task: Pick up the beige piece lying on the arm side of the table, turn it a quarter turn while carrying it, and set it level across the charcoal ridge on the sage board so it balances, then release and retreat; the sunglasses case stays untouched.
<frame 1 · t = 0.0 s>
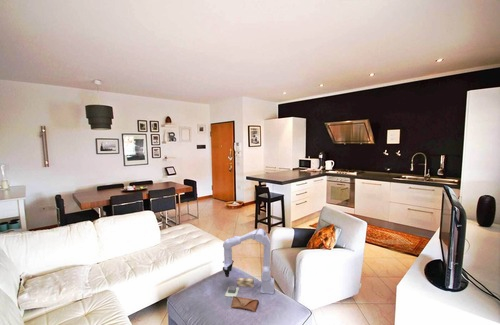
hand: (228, 273, 168), 10 cm above the table, fingers open, 7 cm apart
beige piece: (245, 285, 170), on the table
sunglasses case: (244, 306, 148), on the table
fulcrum: (232, 292, 162), on the table
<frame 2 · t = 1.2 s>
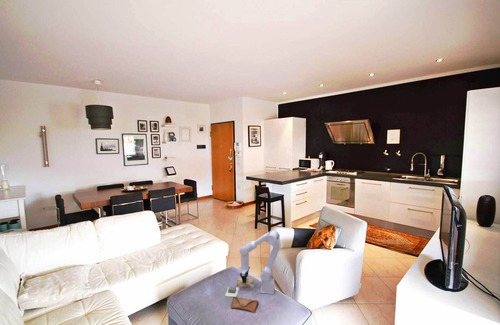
hand: (245, 279, 169), 5 cm above the table, fingers open, 7 cm apart
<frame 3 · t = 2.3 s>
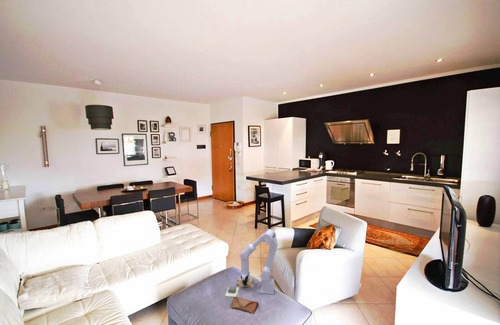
hand: (245, 283, 169), 1 cm above the table, fingers closed on beige piece, 3 cm apart
beige piece: (245, 285, 170), on the table, touching gripper
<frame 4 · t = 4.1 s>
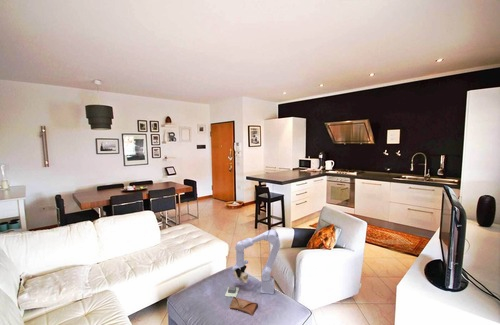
hand: (240, 276, 166), 9 cm above the table, fingers closed on beige piece, 3 cm apart
beige piece: (240, 278, 166), point 7 cm above the table, touching gripper
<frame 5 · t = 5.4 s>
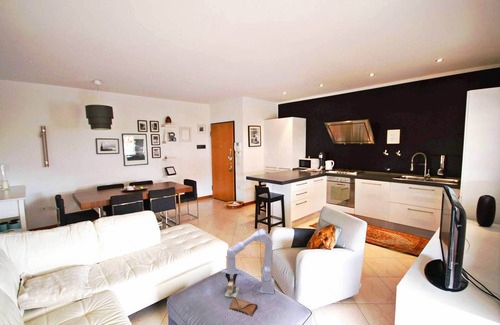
hand: (231, 283, 161), 7 cm above the table, fingers closed on beige piece, 3 cm apart
beige piece: (231, 287, 161), point 4 cm above the table, touching gripper
when the fingers open (5 cm above the table, at t = 6.1 s): beige piece stays where it is, resting on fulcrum.
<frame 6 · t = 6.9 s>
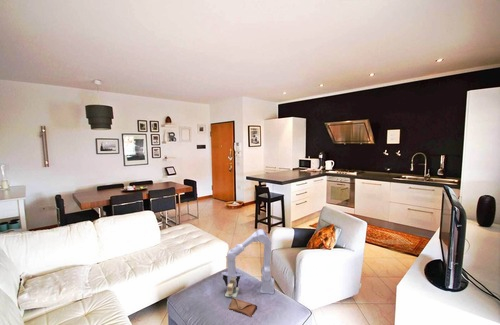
hand: (232, 285, 162), 5 cm above the table, fingers open, 7 cm apart
beige piece: (231, 288, 161), point 3 cm above the table, touching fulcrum
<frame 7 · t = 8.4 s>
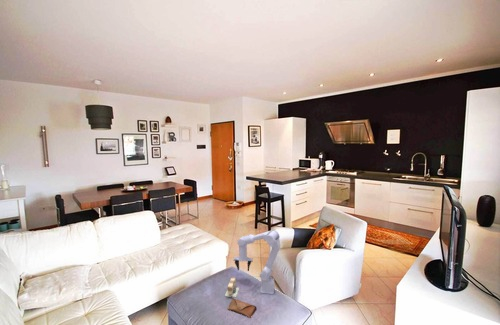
hand: (243, 270, 172), 10 cm above the table, fingers open, 7 cm apart
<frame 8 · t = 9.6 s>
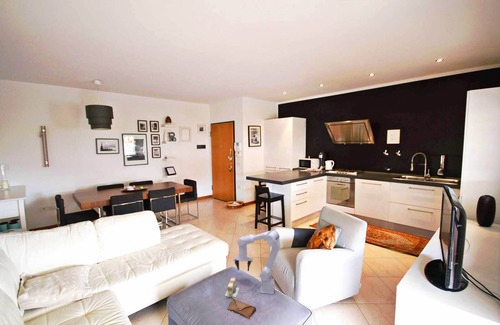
hand: (243, 270, 172), 10 cm above the table, fingers open, 7 cm apart
at the end: beige piece 0.6 cm off-centre on the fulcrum, point 3.0 cm above the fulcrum's base; beige piece tilted 0°; beige piece touching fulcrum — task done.
